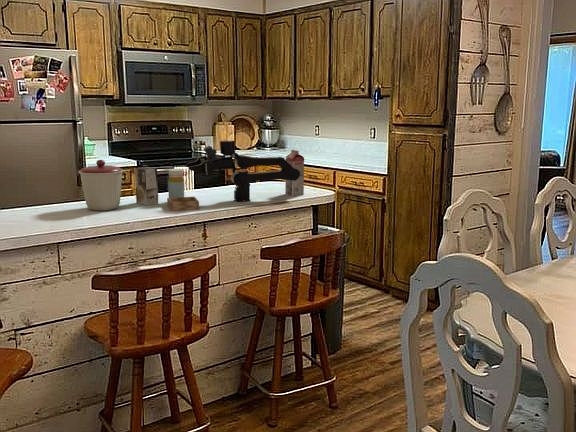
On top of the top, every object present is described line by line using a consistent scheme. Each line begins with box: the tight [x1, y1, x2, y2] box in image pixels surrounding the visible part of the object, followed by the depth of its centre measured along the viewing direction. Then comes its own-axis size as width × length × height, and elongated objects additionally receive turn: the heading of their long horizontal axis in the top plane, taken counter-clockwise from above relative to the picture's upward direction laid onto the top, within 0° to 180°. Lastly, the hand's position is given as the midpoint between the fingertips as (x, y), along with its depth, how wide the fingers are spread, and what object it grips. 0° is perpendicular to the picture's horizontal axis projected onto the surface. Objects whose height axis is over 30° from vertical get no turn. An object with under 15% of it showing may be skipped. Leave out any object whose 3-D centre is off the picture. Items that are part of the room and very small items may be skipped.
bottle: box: [167, 168, 185, 198], centre depth 256 cm, size 7×7×15 cm
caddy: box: [166, 196, 200, 212], centre depth 245 cm, size 12×12×4 cm
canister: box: [78, 159, 124, 212], centre depth 239 cm, size 18×18×21 cm
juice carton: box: [284, 149, 305, 197], centre depth 278 cm, size 7×7×22 cm
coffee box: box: [133, 166, 159, 206], centre depth 252 cm, size 9×6×16 cm
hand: (187, 166), depth 252 cm, fingers open, 9 cm apart
